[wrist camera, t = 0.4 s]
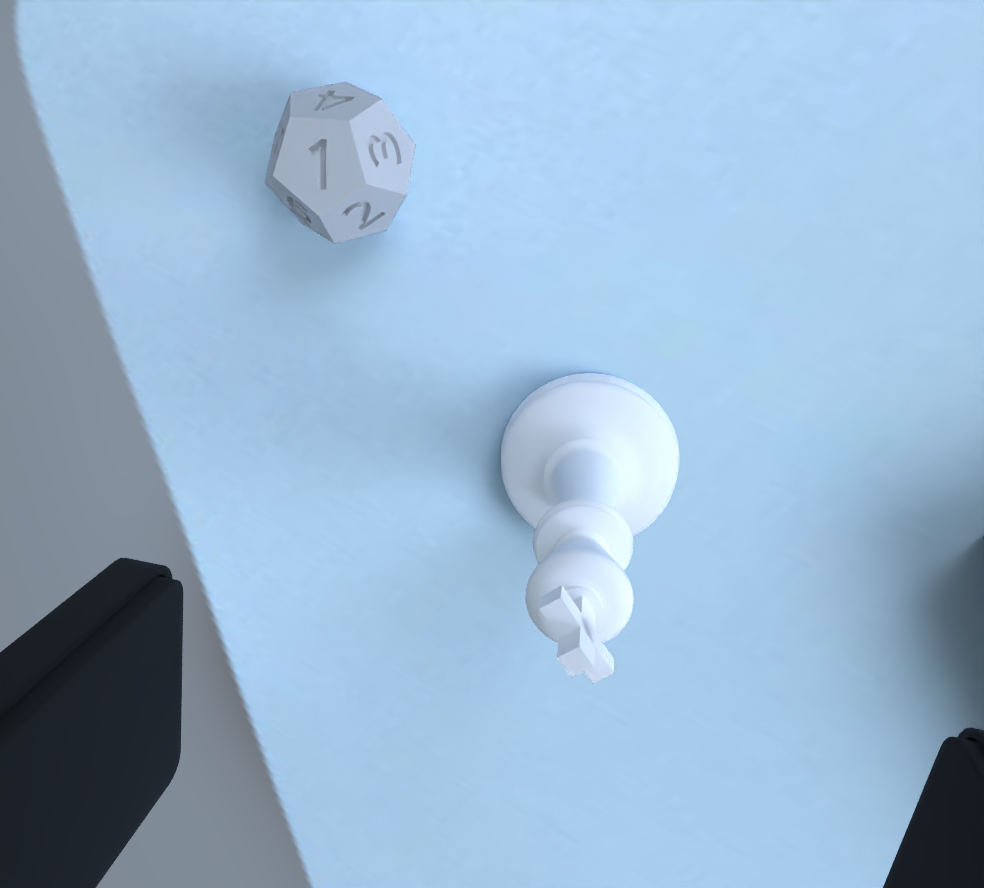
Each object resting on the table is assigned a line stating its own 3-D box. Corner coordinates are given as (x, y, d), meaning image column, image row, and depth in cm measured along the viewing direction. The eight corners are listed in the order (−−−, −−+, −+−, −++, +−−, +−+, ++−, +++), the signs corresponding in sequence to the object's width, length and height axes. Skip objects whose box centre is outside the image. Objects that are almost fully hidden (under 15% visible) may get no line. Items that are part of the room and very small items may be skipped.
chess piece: (562, 567, 24) (532, 826, 14) (467, 431, 23) (369, 613, 13) (712, 485, 22) (789, 713, 13) (617, 337, 21) (626, 466, 12)
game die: (293, 232, 22) (245, 240, 19) (292, 81, 20) (241, 67, 18) (421, 243, 21) (392, 254, 19) (428, 91, 20) (399, 78, 17)
